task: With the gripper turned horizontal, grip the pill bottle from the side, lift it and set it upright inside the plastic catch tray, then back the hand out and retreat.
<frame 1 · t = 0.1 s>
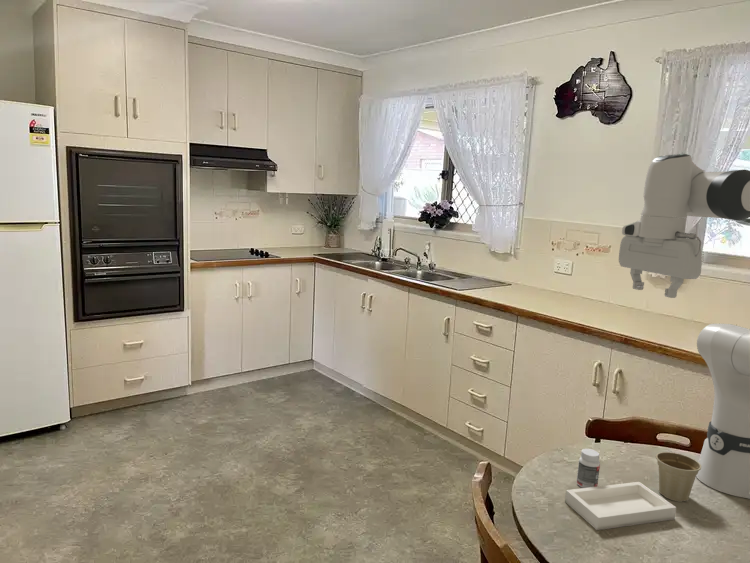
hand: (653, 293, 122), 48 cm above the table, tool pointing down, fingers open, 8 cm apart
catch tray: (618, 510, 123), on the table
pill bottle: (586, 485, 134), on the table
flower pot: (673, 495, 131), on the table
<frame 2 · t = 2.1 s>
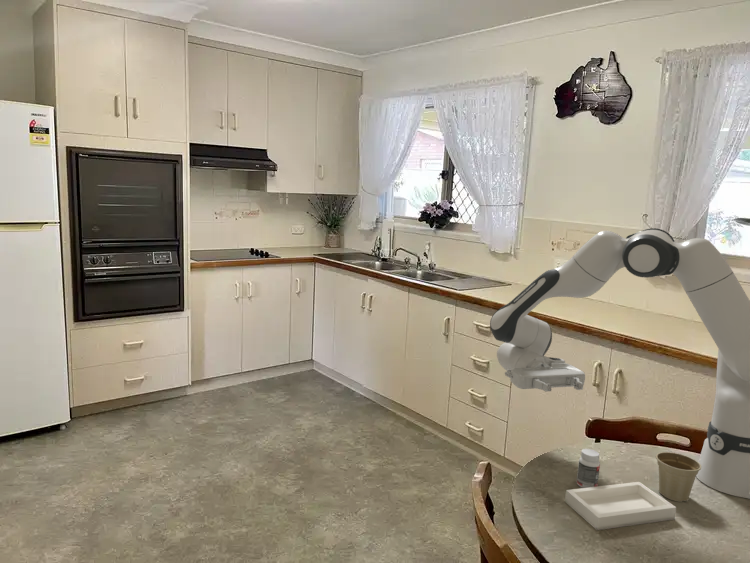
hand: (565, 387, 142), 20 cm above the table, tool horizontal, fingers open, 8 cm apart
nothing on the table moved.
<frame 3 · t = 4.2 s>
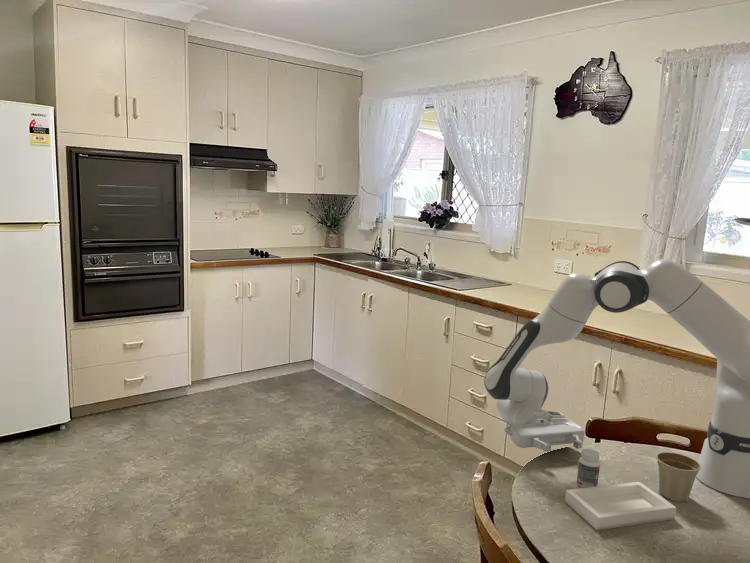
hand: (564, 447, 142), 5 cm above the table, tool horizontal, fingers open, 8 cm apart
nothing on the table moved.
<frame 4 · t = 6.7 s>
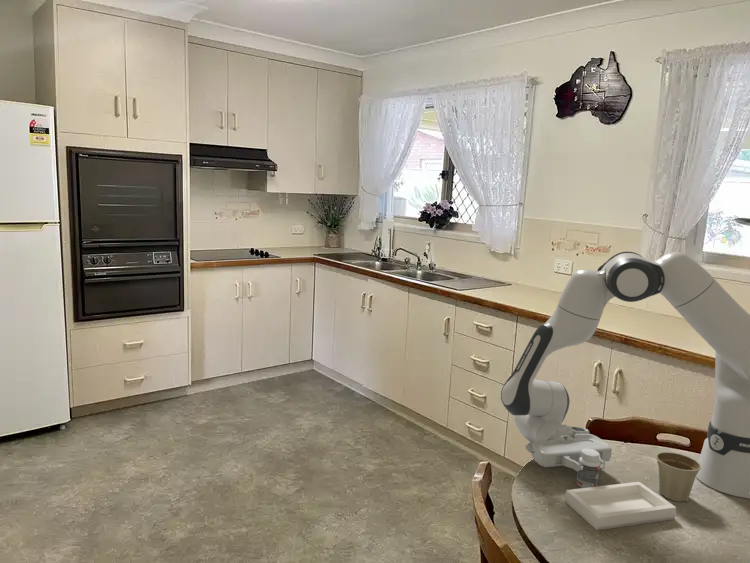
hand: (591, 467, 132), 5 cm above the table, tool horizontal, fingers closed on pill bottle, 5 cm apart
pill bottle: (586, 485, 134), on the table, touching gripper
everything else where it was.
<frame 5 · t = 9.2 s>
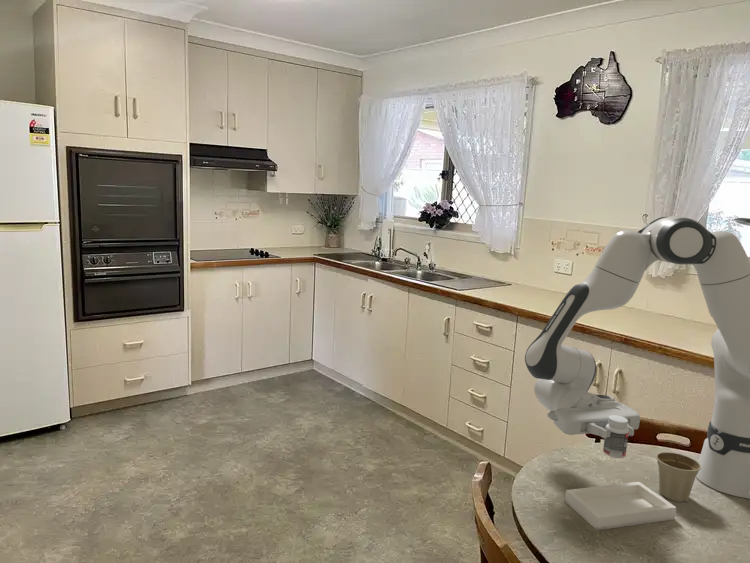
hand: (619, 434, 123), 17 cm above the table, tool horizontal, fingers closed on pill bottle, 5 cm apart
pill bottle: (614, 454, 125), point 11 cm above the table, touching gripper
everything else where it was.
when the fingers open (7 cm above the table, at t = 11.8 s): pill bottle drops 1 cm, resting on catch tray.
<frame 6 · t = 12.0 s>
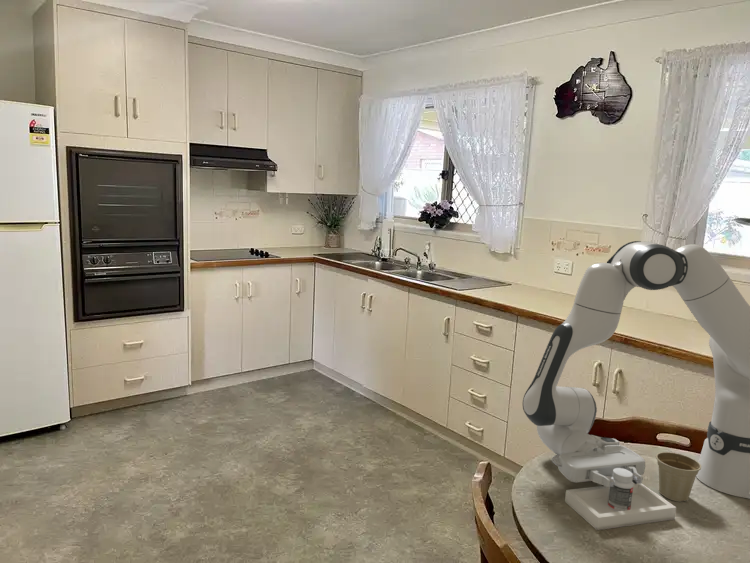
hand: (625, 482, 121), 7 cm above the table, tool horizontal, fingers open, 6 cm apart
pill bottle: (618, 508, 123), resting on catch tray
everything else where it was.
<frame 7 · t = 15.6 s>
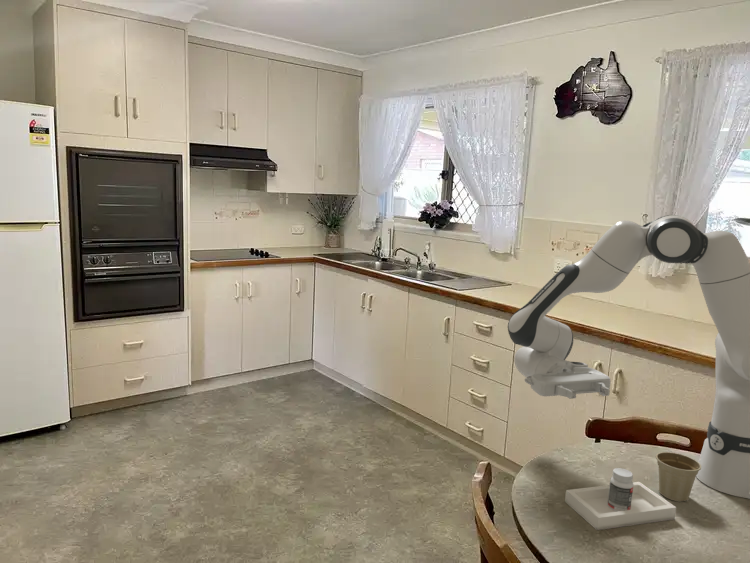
hand: (590, 394, 133), 22 cm above the table, tool horizontal, fingers open, 8 cm apart
nothing on the table moved.
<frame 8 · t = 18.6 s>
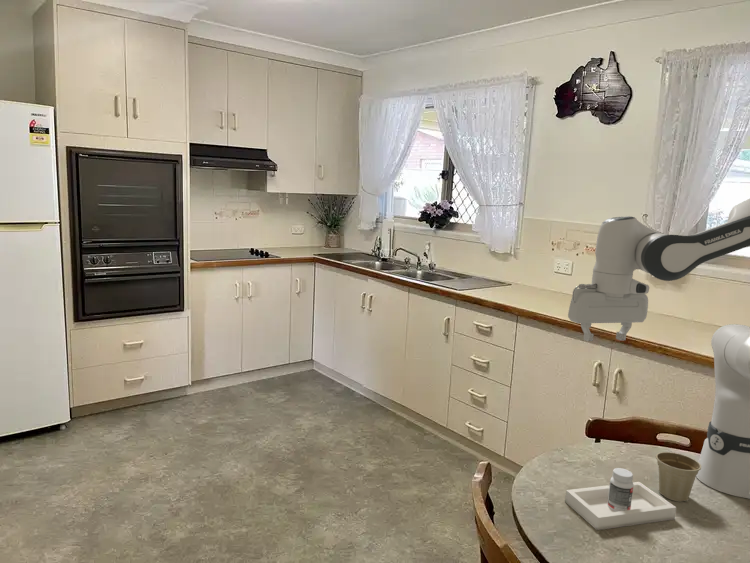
hand: (604, 340, 135), 34 cm above the table, tool pointing down, fingers open, 8 cm apart
nothing on the table moved.
at the end: pill bottle inside the target area on the catch tray (0.1 cm from its centre), point 0.4 cm above the catch tray's base; pill bottle tilted 0°; the gripper is holding nothing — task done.
